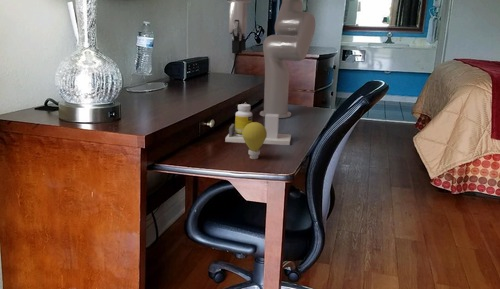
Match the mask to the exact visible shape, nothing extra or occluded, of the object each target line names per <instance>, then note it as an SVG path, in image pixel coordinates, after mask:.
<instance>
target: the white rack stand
mask: <svg viewBox="0 0 500 289" xmlns="http://www.w3.org/2000/svg"><path fill="white" fill-rule="evenodd" d="M262 117H263V116H262ZM262 119H263V121H262V125H263V126H264V127H265V129H266V132H267V137H266V139H265V141H264V143H263V144H262V145H281V146H290V145H291V140H292V135H291V134H288V133H287V134H286V133H285V134H283V133H279V129H280V128H279V126H280V124H279V123H280V118H279V114H266V116H264V117H263V118H262ZM224 139H225V141H224V142H225V143H238V144H239V143H240V144H241V143H242V144H246V143H245V140H244V138H243V137H239V136H236V135H235V123H231V125H230V126H229V128H228V134H227V135H226V136H225V138H224Z"/></svg>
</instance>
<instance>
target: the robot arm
mask: <svg viewBox="0 0 500 289" xmlns="http://www.w3.org/2000/svg"><path fill="white" fill-rule="evenodd" d="M226 3H227V4H229V13H228V15H229V16H228V33H229V35H232V37H231V39H232V40H231V54H242V53H243V51H246V46H247V44H246V43H247V42H246V39H247V38H246V32H247V29H248V28H247V25H248V23H247V22H248V5H247V4H251V0H227V1H226ZM303 7H304V4H303V0H282V1H281V5H280V9H279V12H278V15H277V17H276V20H275V23H274V32H275V33H276V34H271V35H268V36H266V37H265V39H264V41H263V43H262V50H263V51H262V52H263V57H264V88H263V90H264V92H263V95H264V96H263V110H261V111H260V112H259V116H261V117H264V116H266V114H279V119H286V118H290V117H292V112H290V111H289V110H288V107H289V105H288V104H289V83H290V82H289V80H290V70H289V67H288V65H287V63H286V62H285V61H290V62H291V61H292V62H300V61H303V60H304V59H305V58H306V57H307V56H308V53H309V49H310V46H311V44H312V43H311V42H312V41H313V37H314V34H315V30H316V19H315V18H316V17H315V16H314V15H313V14H312V13H311V12H308V11H303Z"/></svg>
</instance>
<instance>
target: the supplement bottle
mask: <svg viewBox="0 0 500 289" xmlns="http://www.w3.org/2000/svg"><path fill="white" fill-rule="evenodd" d="M251 108H252V107H251V104H248V103H241V104H238V105H237V110H238V111H236V112H235V113H234V114H235V118H234V119H235V120H234V124H235V135H236V136H239V137H243V136H242V133H243V130H244V128H245V126H246V125H247V124H249V123H252V122H253V112H252V111H251Z"/></svg>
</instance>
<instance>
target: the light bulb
mask: <svg viewBox="0 0 500 289" xmlns="http://www.w3.org/2000/svg"><path fill="white" fill-rule="evenodd" d="M242 136H243V138H244V140H245V143H244V144H246V146H247V147H248V155H249V159H252V160H257V159H259V155H261V150H260V148H261V147H262V146H263V145H264V144H263V143H264V141H265V139H266V137H267V132H266V129H265V127H264V126H263V123H260V122H257V121H254V122H253V121H252V123H249V124H247V125H246V126H245V128H244V130H243V133H242Z"/></svg>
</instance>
